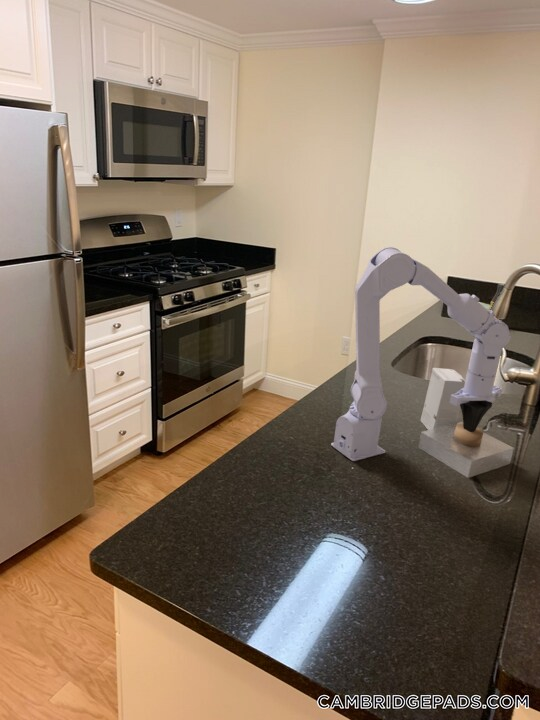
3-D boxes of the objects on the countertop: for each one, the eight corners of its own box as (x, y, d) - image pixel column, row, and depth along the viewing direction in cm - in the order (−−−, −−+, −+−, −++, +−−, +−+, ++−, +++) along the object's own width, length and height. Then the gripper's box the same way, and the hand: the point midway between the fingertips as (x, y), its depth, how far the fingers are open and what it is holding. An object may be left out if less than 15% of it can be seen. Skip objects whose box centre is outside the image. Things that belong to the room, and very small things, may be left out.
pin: (465, 462, 115) (471, 438, 113) (445, 450, 120) (450, 426, 118) (483, 457, 118) (488, 433, 116) (462, 445, 123) (467, 422, 121)
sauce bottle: (481, 326, 237) (491, 282, 230) (491, 325, 239) (501, 282, 233) (492, 330, 231) (502, 285, 224) (503, 329, 234) (513, 285, 227)
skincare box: (419, 421, 135) (430, 366, 130) (442, 422, 136) (453, 367, 131) (432, 437, 127) (444, 379, 122) (456, 437, 128) (468, 380, 123)
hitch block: (467, 477, 110) (471, 461, 109) (418, 447, 121) (421, 431, 120) (509, 464, 117) (513, 447, 116) (459, 436, 128) (462, 421, 127)
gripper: (474, 383, 106) (461, 444, 110) (519, 374, 113) (505, 431, 118) (447, 371, 111) (435, 429, 116) (491, 364, 119) (478, 418, 123)
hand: (469, 430), depth 117 cm, fingers closed, pressing on pin
